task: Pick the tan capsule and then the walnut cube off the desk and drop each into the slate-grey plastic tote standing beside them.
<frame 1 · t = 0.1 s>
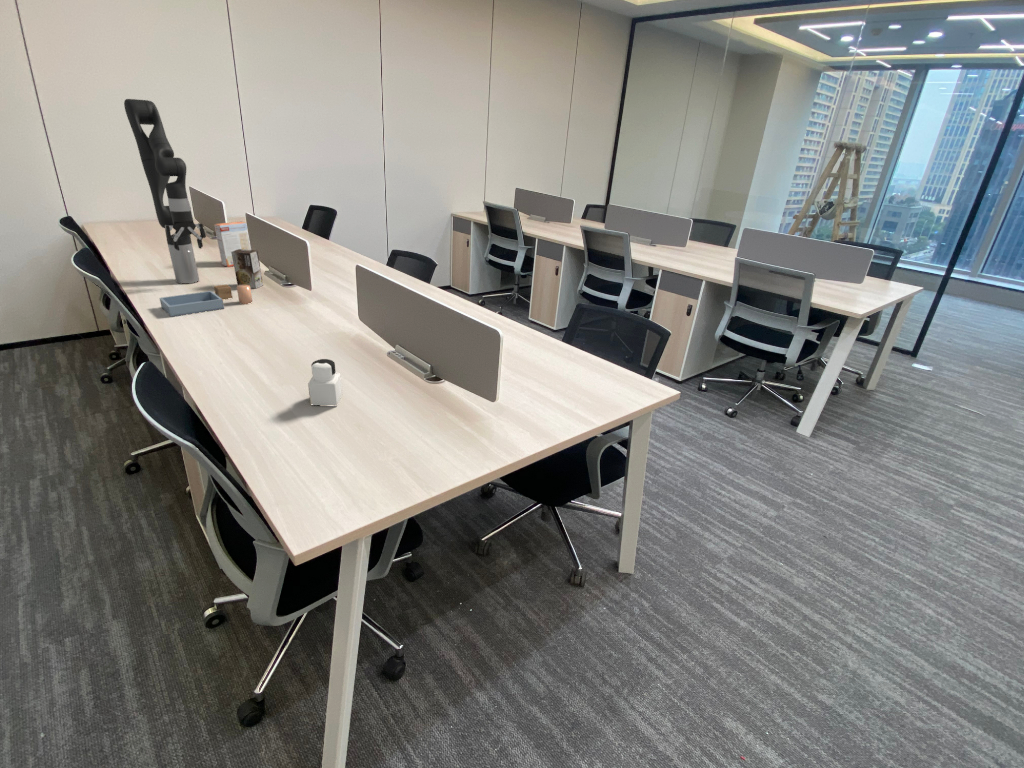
hand: (189, 249, 219), 17 cm above the table, tool pointing down, fingers open, 8 cm apart
tan capsule: (246, 302, 214), on the table
white blocky figurine: (327, 401, 144), on the table
tote: (193, 308, 203), on the table
cracker box: (237, 264, 267), on the table
coffee box: (250, 286, 235), on the table
walnut cube: (224, 298, 217), on the table
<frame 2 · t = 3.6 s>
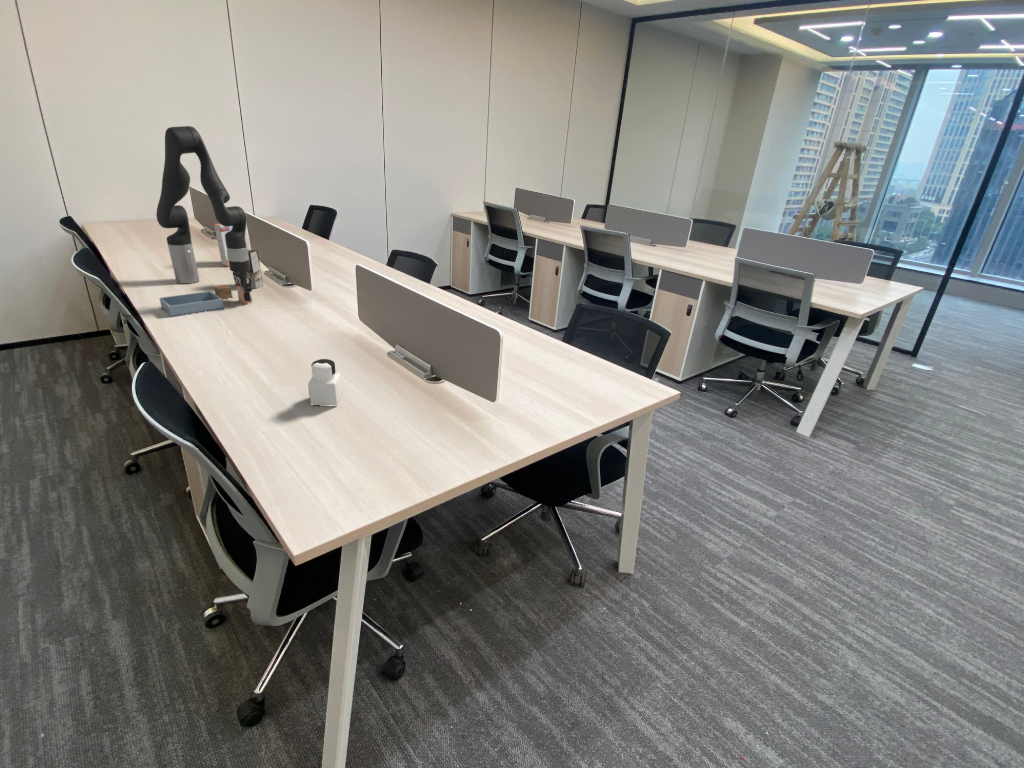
hand: (245, 299, 213), 1 cm above the table, tool pointing down, fingers closed on tan capsule, 5 cm apart
tan capsule: (246, 302, 214), on the table, touching gripper
everything else where it was.
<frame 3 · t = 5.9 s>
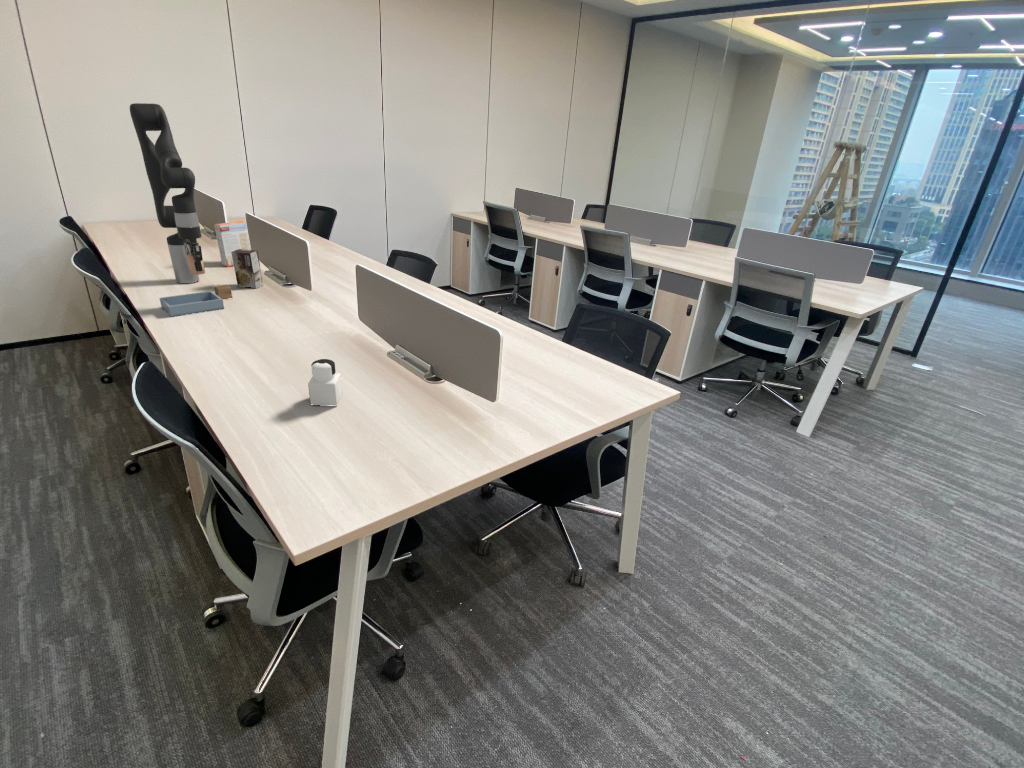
hand: (197, 269, 199), 15 cm above the table, tool pointing down, fingers closed on tan capsule, 5 cm apart
tan capsule: (197, 272, 200), point 14 cm above the table, touching gripper
everything else where it was.
when the fingers open (4 cm above the table, at t = 8.0 s): tan capsule drops 2 cm, resting on tote.
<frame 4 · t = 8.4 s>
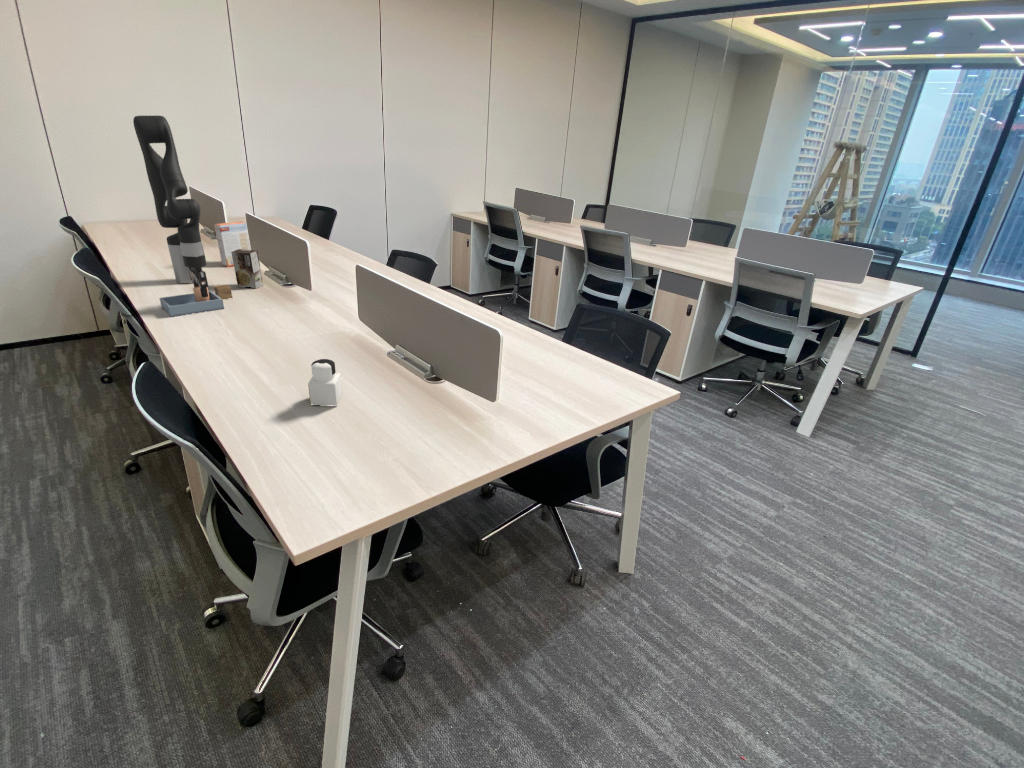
hand: (201, 294, 204), 5 cm above the table, tool pointing down, fingers open, 8 cm apart
tan capsule: (203, 305, 206), point 1 cm above the table, touching tote
everything else where it was.
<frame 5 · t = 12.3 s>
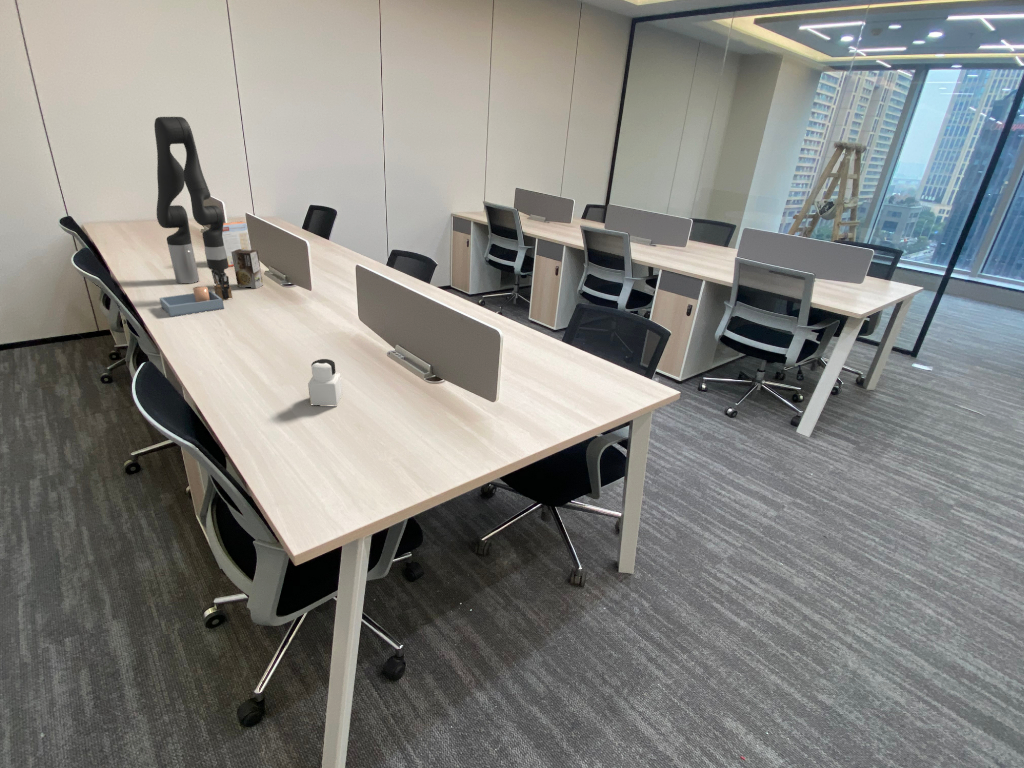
hand: (223, 296, 217), 0 cm above the table, tool pointing down, fingers closed on walnut cube, 5 cm apart
walnut cube: (224, 297, 217), on the table, touching gripper
everything else where it was.
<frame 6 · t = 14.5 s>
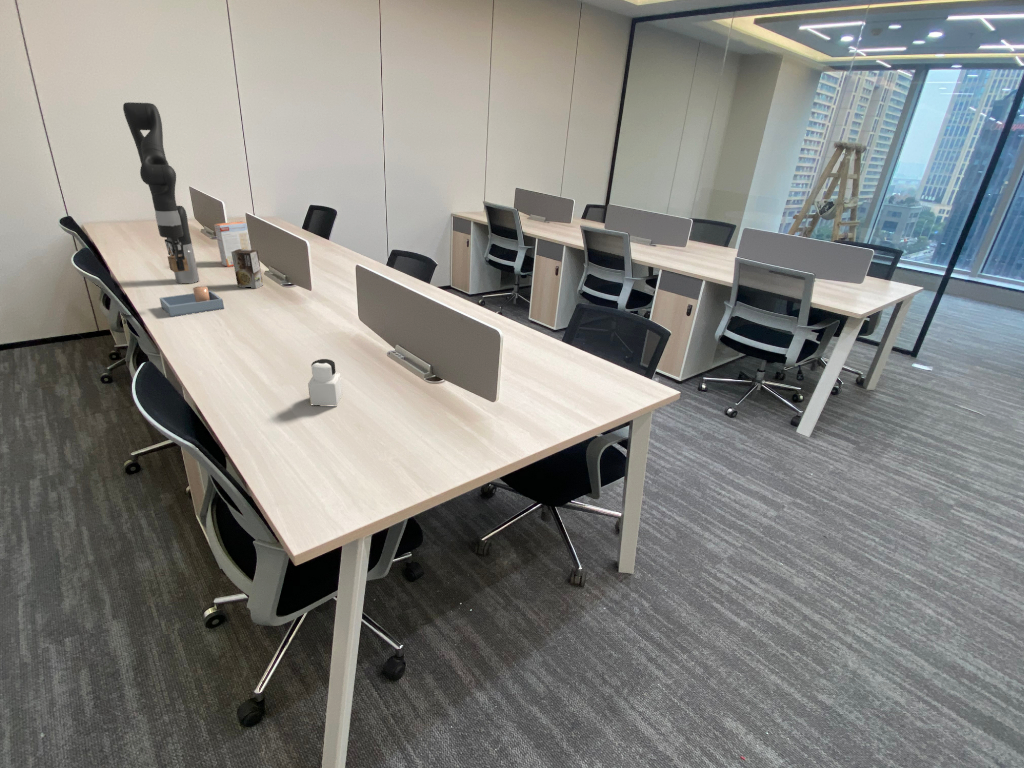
hand: (179, 268, 195), 16 cm above the table, tool pointing down, fingers closed on walnut cube, 5 cm apart
walnut cube: (179, 270, 196), point 15 cm above the table, touching gripper
everything else where it was.
when the fingers open (4 cm above the table, at t = 16.9 s): walnut cube drops 3 cm, resting on tote.
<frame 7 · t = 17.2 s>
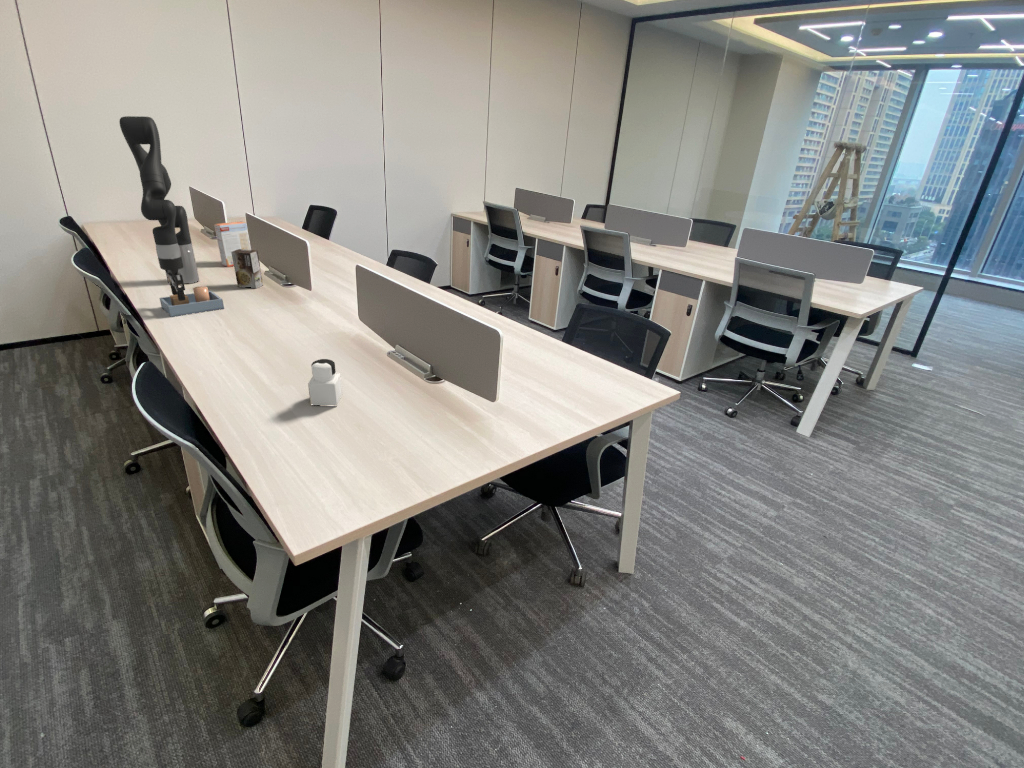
hand: (179, 297, 199), 5 cm above the table, tool pointing down, fingers open, 8 cm apart
walnut cube: (181, 308, 201), point 1 cm above the table, touching tote
everything else where it was.
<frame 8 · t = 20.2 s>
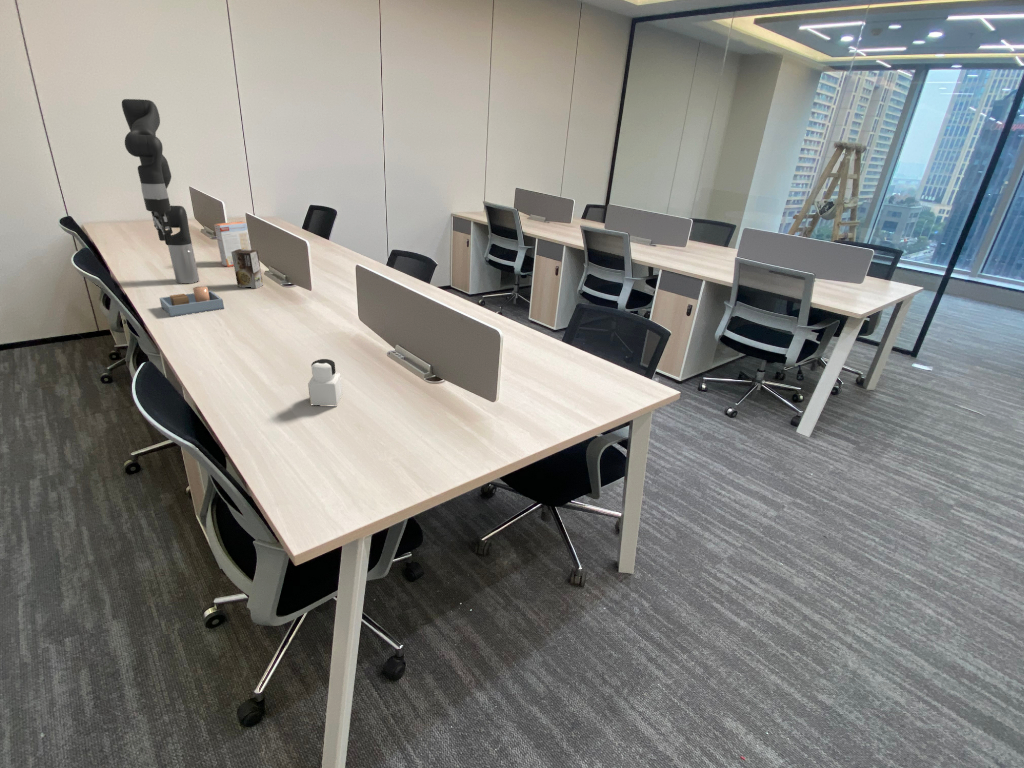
hand: (166, 242, 189), 26 cm above the table, tool pointing down, fingers open, 8 cm apart
nothing on the table moved.
at the end: tan capsule inside the target area on the tote (4.0 cm from its centre), point 0.6 cm above the tote's base; walnut cube inside the target area on the tote (4.0 cm from its centre), point 0.6 cm above the tote's base; the gripper is holding nothing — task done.
